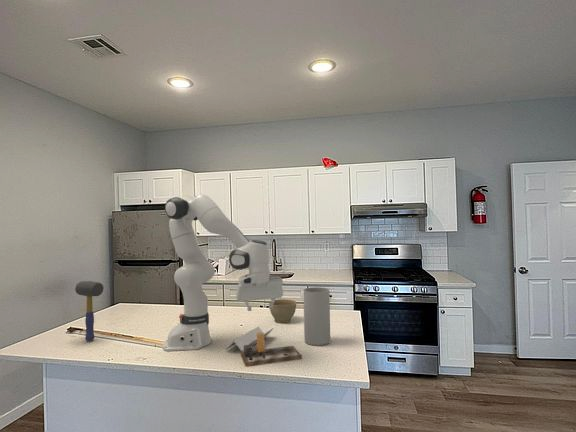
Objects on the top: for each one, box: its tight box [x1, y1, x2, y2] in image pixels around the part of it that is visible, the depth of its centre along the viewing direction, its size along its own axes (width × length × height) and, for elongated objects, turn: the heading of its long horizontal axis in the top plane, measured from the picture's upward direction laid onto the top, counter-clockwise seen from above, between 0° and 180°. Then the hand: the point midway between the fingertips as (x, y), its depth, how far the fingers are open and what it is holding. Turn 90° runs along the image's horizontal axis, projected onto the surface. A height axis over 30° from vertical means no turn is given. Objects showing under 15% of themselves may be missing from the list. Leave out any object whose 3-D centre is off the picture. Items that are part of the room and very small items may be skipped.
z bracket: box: [225, 326, 275, 352], centre depth 164 cm, size 12×25×6 cm
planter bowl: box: [268, 298, 297, 324], centre depth 202 cm, size 16×16×11 cm
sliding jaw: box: [255, 332, 266, 358], centre depth 147 cm, size 3×9×8 cm, turn 17°
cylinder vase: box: [303, 286, 331, 347], centre depth 166 cm, size 12×12×25 cm
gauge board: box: [240, 345, 303, 367], centre depth 148 cm, size 24×12×5 cm, turn 107°
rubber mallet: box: [74, 280, 104, 343], centre depth 173 cm, size 12×8×30 cm, turn 69°
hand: (260, 309), depth 149 cm, fingers open, 8 cm apart
